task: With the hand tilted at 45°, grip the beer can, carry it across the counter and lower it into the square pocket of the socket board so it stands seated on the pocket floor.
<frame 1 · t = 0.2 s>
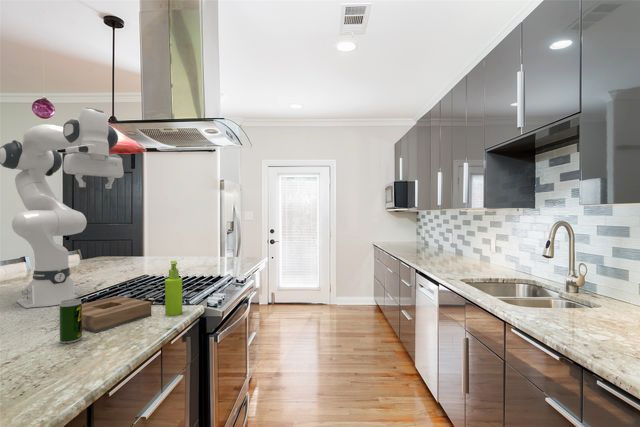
hand: (95, 187, 128), 48 cm above the counter, tool pointing down, fingers open, 8 cm apart
soap dispenser: (173, 314, 127), on the counter
socket board: (107, 319, 121), on the counter
beer can: (71, 341, 101), on the counter
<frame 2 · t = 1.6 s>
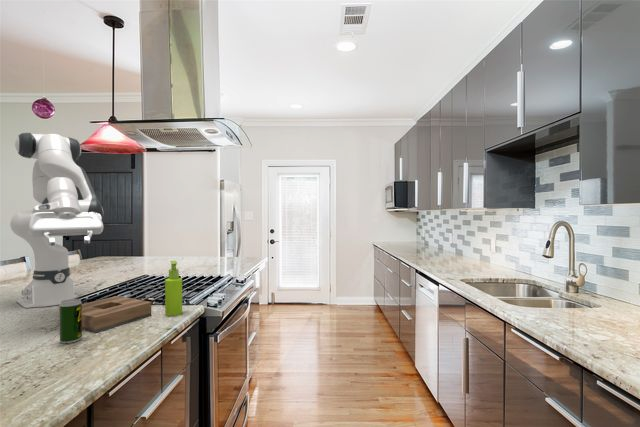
hand: (70, 243, 111), 28 cm above the counter, tool tilted 45°, fingers open, 8 cm apart
nothing on the counter moved.
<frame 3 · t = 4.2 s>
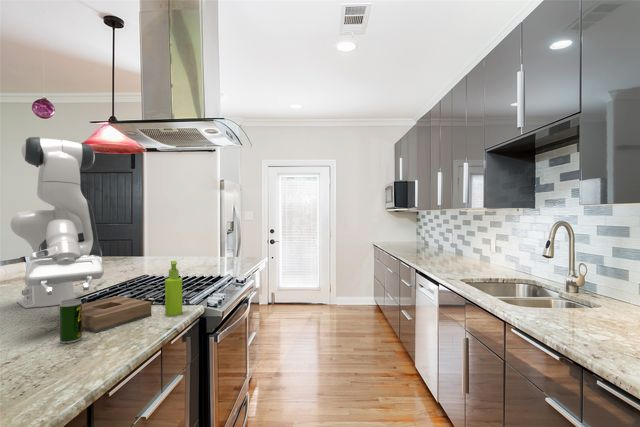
hand: (68, 291, 106), 14 cm above the counter, tool tilted 45°, fingers open, 8 cm apart
nothing on the counter moved.
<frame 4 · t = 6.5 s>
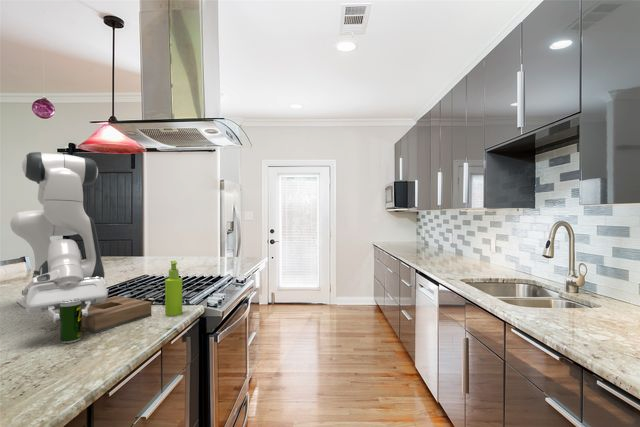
hand: (71, 318, 101), 7 cm above the counter, tool tilted 45°, fingers closed on beer can, 5 cm apart
beer can: (71, 341, 101), on the counter, touching gripper
everything else where it was.
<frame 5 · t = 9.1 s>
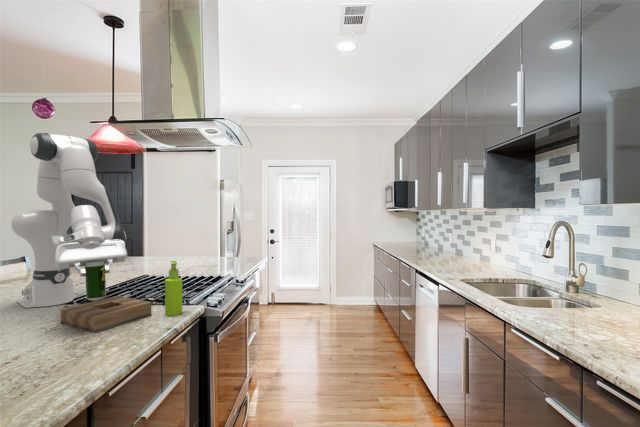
hand: (95, 273, 110), 18 cm above the counter, tool tilted 45°, fingers closed on beer can, 5 cm apart
beer can: (96, 299, 111), point 10 cm above the counter, touching gripper
everything else where it was.
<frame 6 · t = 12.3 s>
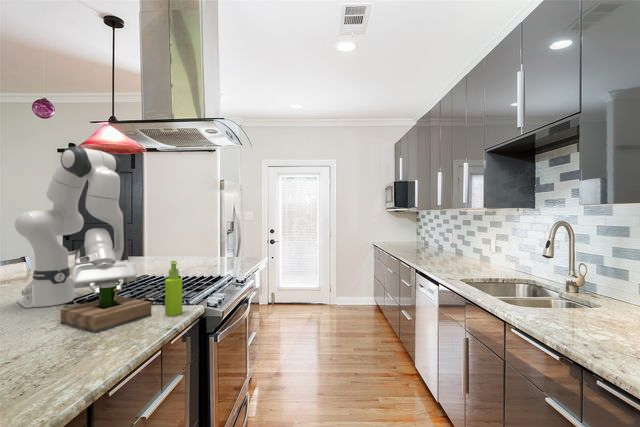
hand: (108, 292, 120), 10 cm above the counter, tool tilted 45°, fingers closed on beer can, 5 cm apart
beer can: (108, 317, 121), point 1 cm above the counter, touching gripper, socket board
everything else where it was.
when the fingers open (10 cm above the counter, at t = 12.5 s): beer can stays where it is, resting on socket board.
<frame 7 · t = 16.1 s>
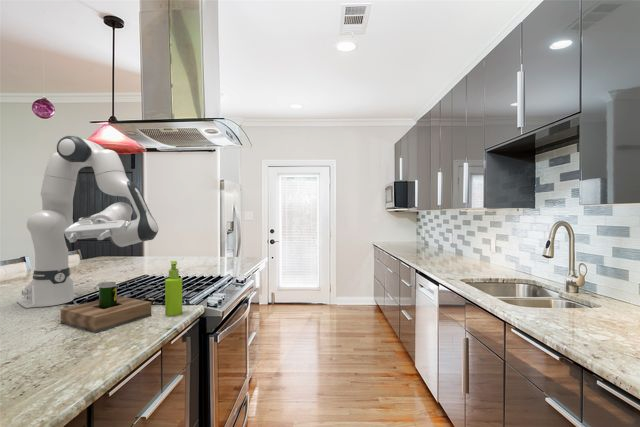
hand: (85, 239, 118), 29 cm above the counter, tool tilted 70°, fingers open, 8 cm apart
beer can: (108, 317, 121), point 1 cm above the counter, touching socket board
everything else where it was.
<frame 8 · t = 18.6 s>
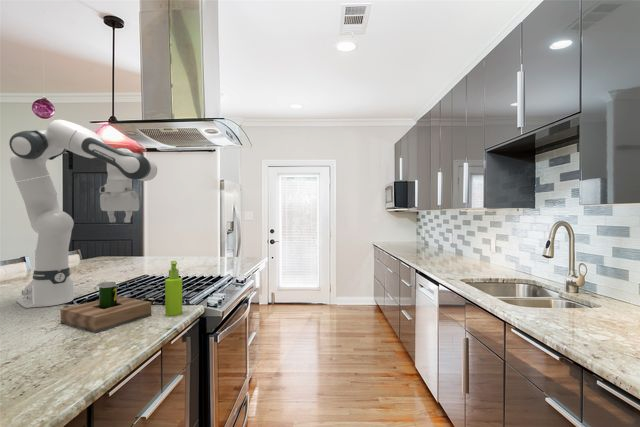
hand: (119, 222, 138), 34 cm above the counter, tool pointing down, fingers open, 8 cm apart
nothing on the counter moved.
at the end: beer can 0.4 cm off-centre on the socket board, point 0.8 cm above the socket board's base; beer can tilted 0°; the gripper is holding nothing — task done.
